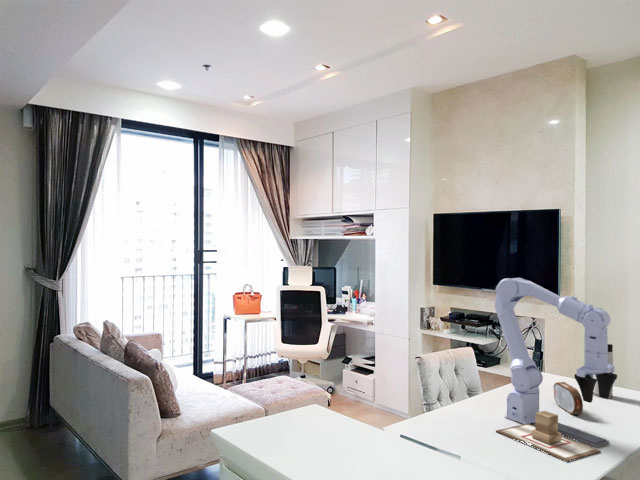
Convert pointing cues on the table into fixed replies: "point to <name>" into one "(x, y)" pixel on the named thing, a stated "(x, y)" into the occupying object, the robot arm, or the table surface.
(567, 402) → the tin
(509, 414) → the robot arm
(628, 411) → the table surface
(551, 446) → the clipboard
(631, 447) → the table surface
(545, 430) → the stamp
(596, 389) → the travel mug
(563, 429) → the ink pad
